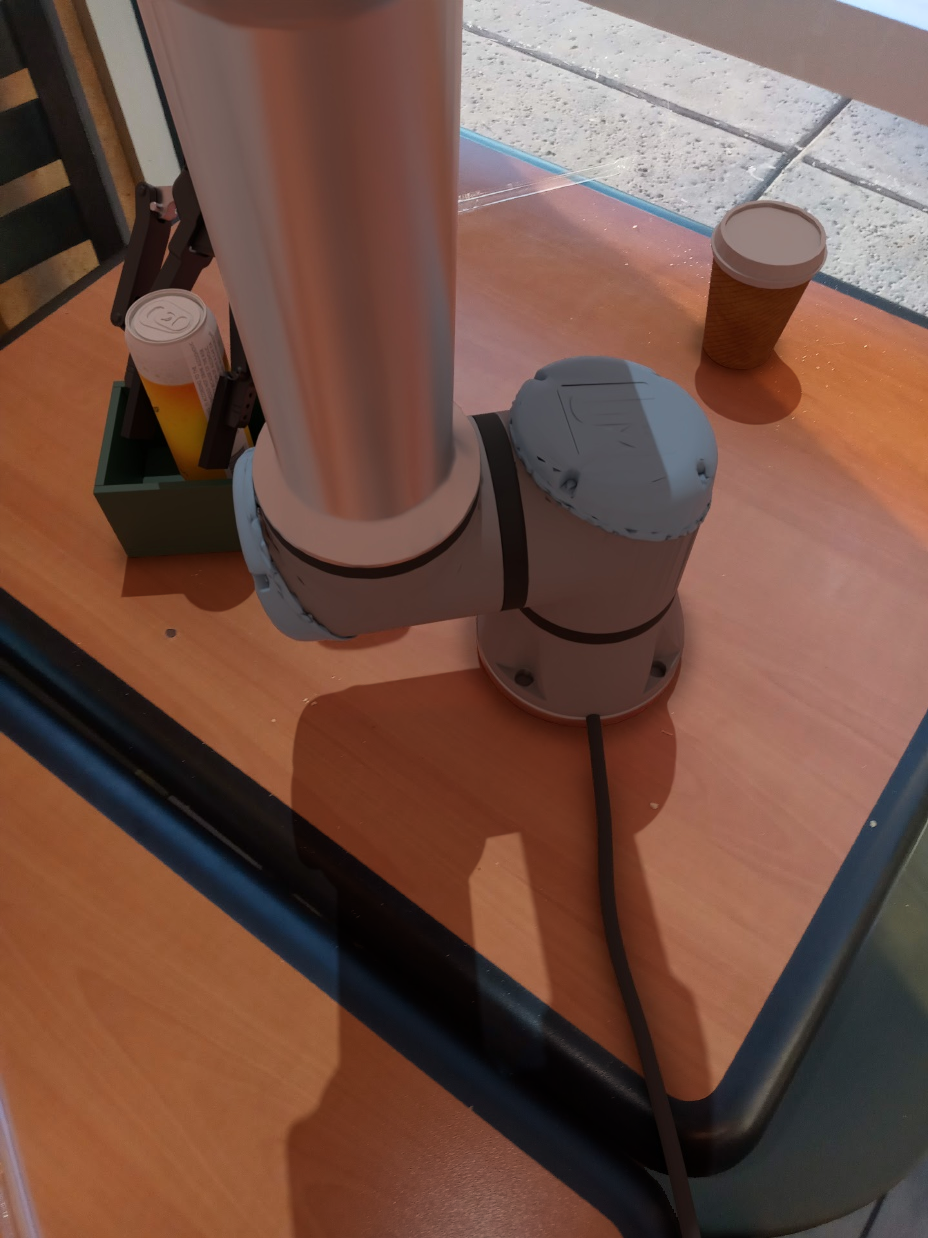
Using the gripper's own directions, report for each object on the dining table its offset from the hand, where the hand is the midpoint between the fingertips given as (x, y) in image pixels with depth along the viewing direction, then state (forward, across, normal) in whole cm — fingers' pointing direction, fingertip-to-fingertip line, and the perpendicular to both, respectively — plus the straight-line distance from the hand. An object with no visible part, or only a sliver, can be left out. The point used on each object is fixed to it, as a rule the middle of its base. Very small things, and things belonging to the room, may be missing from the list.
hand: (174, 451), depth 66 cm
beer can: (+1, 0, -6) cm, 7 cm away
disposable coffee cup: (-21, -33, -34) cm, 52 cm away
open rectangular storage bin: (+4, 0, -9) cm, 10 cm away
